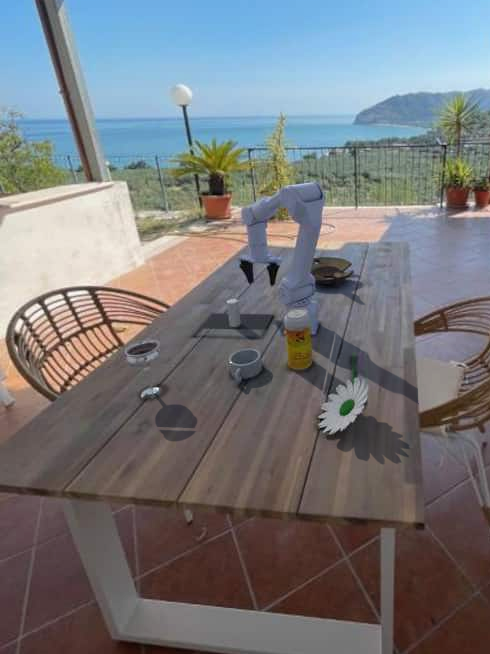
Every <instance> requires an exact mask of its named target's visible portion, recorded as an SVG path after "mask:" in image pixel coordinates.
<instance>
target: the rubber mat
mask: <svg viewBox="0 0 490 654" xmlns="http://www.w3.org/2000/svg"><path fill="white" fill-rule="evenodd" d="M239 314H240V321H241V325H240V326H238V327H231V326H230V323H229V315H228V313H212V314H211V315H210V316H209V317H208V318H207V320H206V321H205V322H204V323H203V324H202V325H201V326H200V327H199V329H198V330H197V331H196V332H195V333H194V334H193V336H192V337H194V338H195V337H197V336H198V334H199V333H200V332H201V331H202V330H246V331H247V330H250V331H251V330H253V331H266V330H267V328H268V327H269V324H270V323H271V321H272V319H273V317H274V314H260V313H259V314H258V313H257V314H255V313H254V314H253V313H252V314H250V313H249V314H247V313H239Z"/></svg>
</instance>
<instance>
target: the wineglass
mask: <svg viewBox="0 0 490 654" xmlns="http://www.w3.org/2000/svg"><path fill="white" fill-rule="evenodd" d="M159 346H160V342H159V341H157V339H156V340H155V339H143V340H138V341H135V342H134V343H132V344H130V345H128V346H127V347H126V348H125V350H124V352H125V354H126V362H127V364H128V365H129V366H130V367H131V368H132V369H135V370H138V371H145V373H146V376H147V380H148V382H149V385H150V387H148V388H146V389H145V390H143V391H142V392H141V394H140V397H141V398H142V399H143V398H144V396H145V395H155V394H156V393H158V392H159V391H160V388H159V387H157V386H154V385H153V379H152V375H151V369H152V368H153V367H155V366H156V365H157V364H158V363H159V362H160V360H161V357H162V350H161V347H159Z"/></svg>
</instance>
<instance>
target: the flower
mask: <svg viewBox="0 0 490 654" xmlns="http://www.w3.org/2000/svg"><path fill="white" fill-rule="evenodd" d="M351 377H352V381H351V380H350V379H347V380H346V381H345V382H346V383H345V385H346V386H345V385H343V384H338V386H336V387H335V391H336V393H330V394H328V395H327V396H328V398H329V400H331V401H327V402H323V403H322V406H321V407H320V408H321V410H323V411H325V412H323V413H321V414H319V415H318V417H317V419H323V420H322V421H321V422H319V423H318V424H317V426H318V429H322V428H325V429H324V430H323V431H322V432H321V433H322V434H324V433H326V432H328V431H330V432H329V434H328V436H329V435H334V434H335V433H336V432H338V431H340V432H342V431H345V430H346V429H347V427H348V426H349V425H350V424H351V423H354V422H355V421H356V418H357V417H358V416H357V415H360V414H361V413H362V412H363V410H364V409H365V403H367V401H368V399H369V395H368V392H369V389H370V388H369V384H366V380H365V379H362V380H360V377H356V376H355V355H352V356H351Z"/></svg>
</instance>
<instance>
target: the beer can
mask: <svg viewBox="0 0 490 654" xmlns="http://www.w3.org/2000/svg"><path fill="white" fill-rule="evenodd" d="M283 321H284V330H285V333H286V334H285V341H286V342H285V343H286V344H285V345H286V356H287V365H288V367H289V368H291V369H292V370H294V371H303V370H307V369H308V368H310V366H312V364H313V355H312V354H313V353H312V352H313V351H312V334H311V333H310V317H309V314H308V312H307V310H305V309H303V308H294V309H290V310H288V311H287V312H286V311H285V315H284V317H283Z"/></svg>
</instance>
